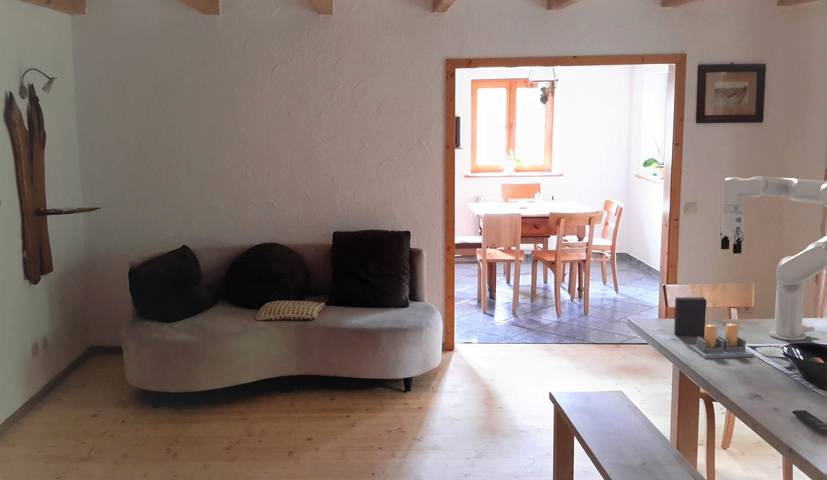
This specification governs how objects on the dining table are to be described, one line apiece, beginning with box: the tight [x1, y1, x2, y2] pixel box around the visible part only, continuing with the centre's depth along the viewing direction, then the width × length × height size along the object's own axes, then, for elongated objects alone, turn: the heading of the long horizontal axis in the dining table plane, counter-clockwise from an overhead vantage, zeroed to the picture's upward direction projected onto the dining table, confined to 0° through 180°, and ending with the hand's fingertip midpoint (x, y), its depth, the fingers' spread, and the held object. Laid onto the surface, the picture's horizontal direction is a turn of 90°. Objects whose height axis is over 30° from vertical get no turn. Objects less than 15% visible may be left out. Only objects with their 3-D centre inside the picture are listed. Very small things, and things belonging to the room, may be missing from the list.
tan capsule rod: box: [724, 323, 739, 347], centre depth 256 cm, size 4×4×9 cm
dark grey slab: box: [673, 296, 707, 337], centre depth 277 cm, size 11×4×15 cm, turn 84°
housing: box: [688, 323, 755, 359], centre depth 256 cm, size 18×13×10 cm
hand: (730, 251), depth 279 cm, fingers open, 9 cm apart
